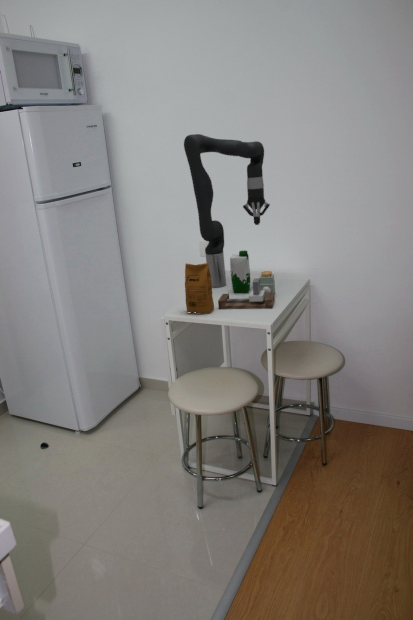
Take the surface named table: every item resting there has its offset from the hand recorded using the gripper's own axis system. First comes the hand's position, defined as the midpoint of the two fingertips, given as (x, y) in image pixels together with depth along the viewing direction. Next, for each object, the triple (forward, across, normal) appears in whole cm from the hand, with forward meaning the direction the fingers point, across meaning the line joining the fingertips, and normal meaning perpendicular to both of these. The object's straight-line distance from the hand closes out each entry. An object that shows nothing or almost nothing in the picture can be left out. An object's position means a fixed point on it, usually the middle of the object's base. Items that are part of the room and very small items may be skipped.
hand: (257, 224), depth 237 cm
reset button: (+24, +5, -12) cm, 28 cm away
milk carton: (+32, -9, -3) cm, 34 cm away
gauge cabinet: (+32, +5, -12) cm, 35 cm away
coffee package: (+32, -22, -32) cm, 51 cm away
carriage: (+29, +2, -24) cm, 38 cm away
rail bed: (+32, -2, -24) cm, 40 cm away
